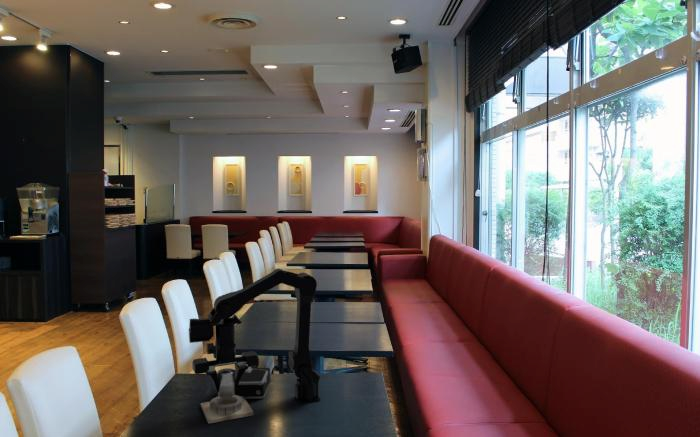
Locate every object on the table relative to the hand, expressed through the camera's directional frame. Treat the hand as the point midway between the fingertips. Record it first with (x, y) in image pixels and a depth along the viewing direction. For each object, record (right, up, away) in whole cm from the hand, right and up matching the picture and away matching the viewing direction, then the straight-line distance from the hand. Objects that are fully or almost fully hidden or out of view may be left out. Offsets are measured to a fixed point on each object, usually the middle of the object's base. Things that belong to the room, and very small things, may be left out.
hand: (226, 390), depth 159 cm
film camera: (+3, -6, +17) cm, 18 cm away
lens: (0, -1, 0) cm, 1 cm away
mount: (0, -6, 0) cm, 6 cm away
